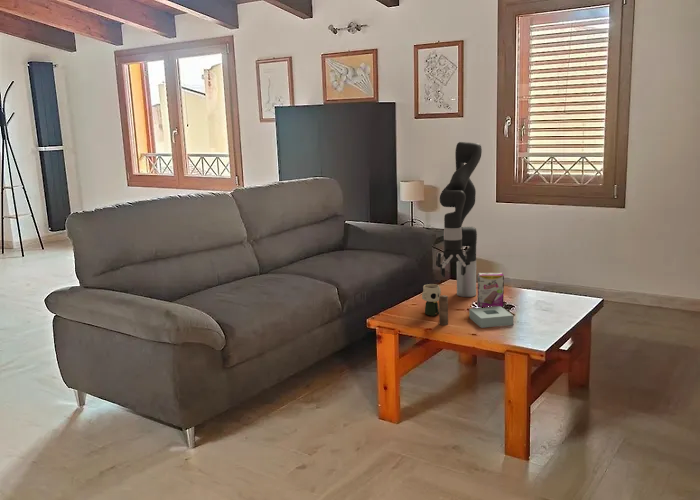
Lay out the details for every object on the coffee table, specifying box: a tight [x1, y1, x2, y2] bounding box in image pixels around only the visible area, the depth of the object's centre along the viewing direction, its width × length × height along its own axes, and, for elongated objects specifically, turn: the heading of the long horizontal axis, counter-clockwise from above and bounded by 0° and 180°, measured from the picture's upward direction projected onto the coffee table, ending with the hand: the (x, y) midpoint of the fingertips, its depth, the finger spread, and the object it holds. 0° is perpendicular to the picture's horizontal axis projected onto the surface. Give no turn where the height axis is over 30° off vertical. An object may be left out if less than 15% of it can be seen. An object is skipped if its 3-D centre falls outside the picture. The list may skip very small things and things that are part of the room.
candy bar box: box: [476, 272, 505, 308], centre depth 290 cm, size 11×5×16 cm, turn 84°
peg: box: [438, 294, 449, 326], centre depth 272 cm, size 4×4×12 cm
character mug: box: [421, 283, 442, 316], centre depth 286 cm, size 11×7×13 cm, turn 127°
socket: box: [468, 306, 515, 329], centre depth 274 cm, size 14×14×4 cm
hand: (453, 275), depth 276 cm, fingers open, 8 cm apart
